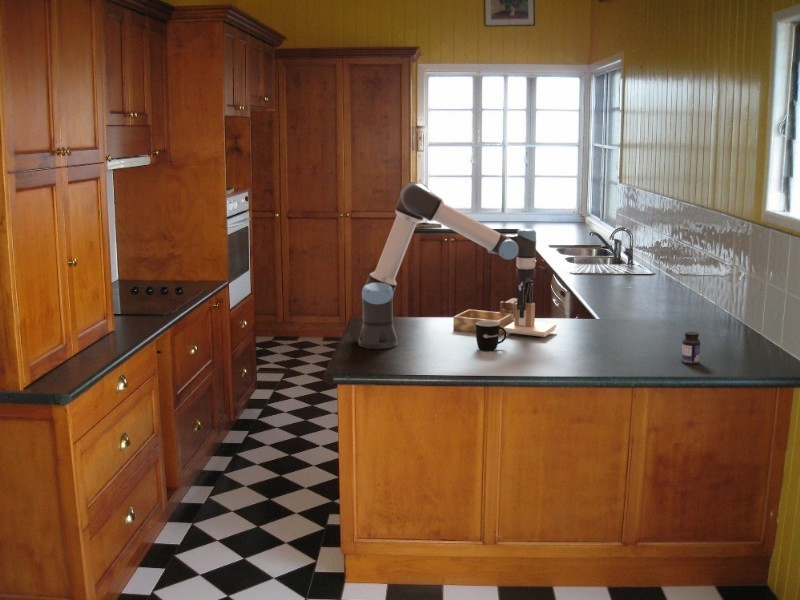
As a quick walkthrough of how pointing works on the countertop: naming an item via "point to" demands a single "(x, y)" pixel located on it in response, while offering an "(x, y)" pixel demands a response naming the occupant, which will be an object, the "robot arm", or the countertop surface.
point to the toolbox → (483, 318)
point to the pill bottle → (691, 348)
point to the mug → (488, 335)
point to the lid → (529, 323)
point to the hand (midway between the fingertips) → (524, 324)
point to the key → (508, 303)
